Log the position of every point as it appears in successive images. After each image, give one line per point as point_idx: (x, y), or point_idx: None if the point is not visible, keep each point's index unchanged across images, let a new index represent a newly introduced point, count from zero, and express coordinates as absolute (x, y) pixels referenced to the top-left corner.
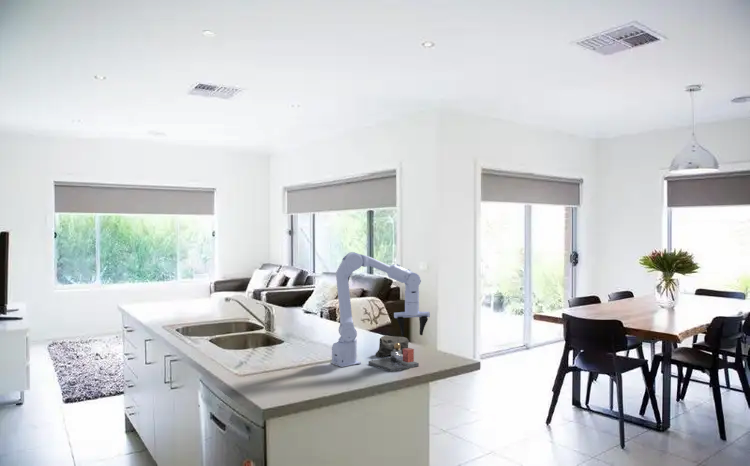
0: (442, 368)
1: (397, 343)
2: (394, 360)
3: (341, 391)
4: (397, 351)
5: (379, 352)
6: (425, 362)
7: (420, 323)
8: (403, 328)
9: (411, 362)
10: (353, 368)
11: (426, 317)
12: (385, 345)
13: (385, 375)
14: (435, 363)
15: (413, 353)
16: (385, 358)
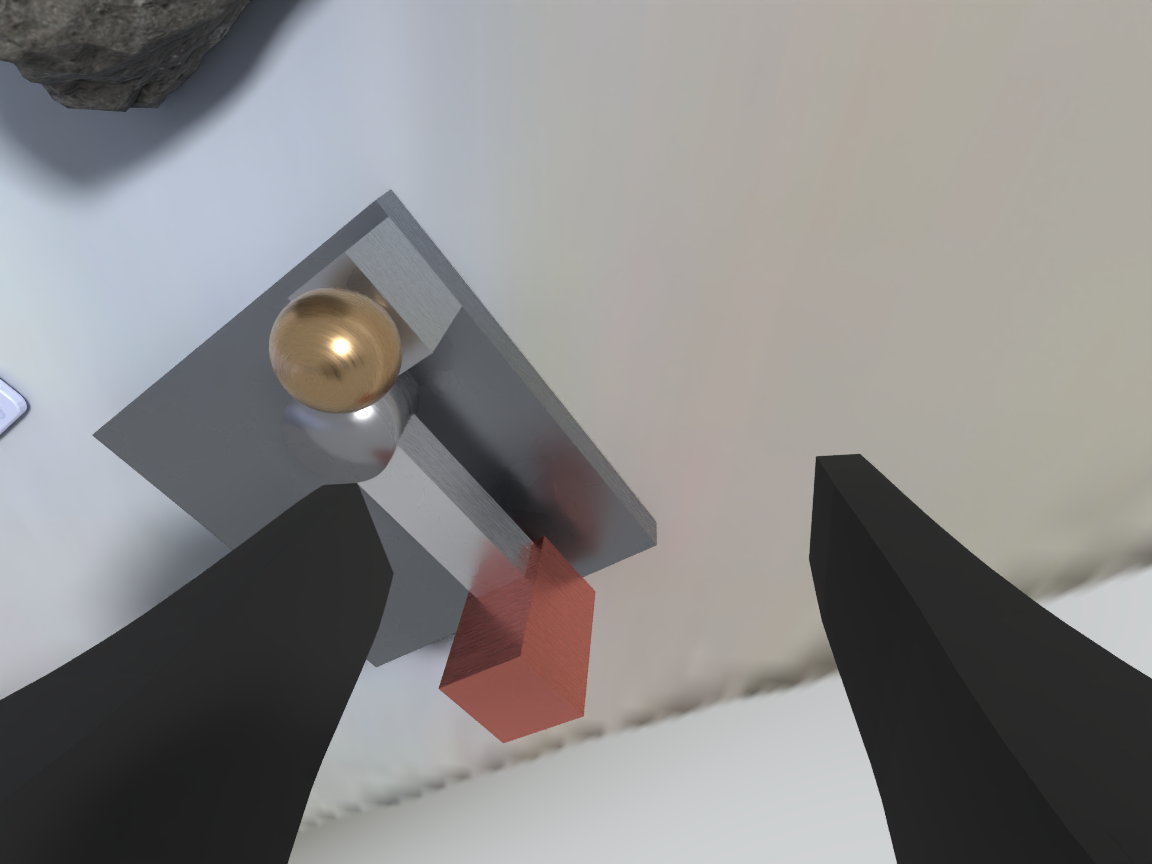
0: None
1: (318, 398)
2: None
3: None
4: (375, 419)
5: (70, 106)
6: (777, 388)
7: (944, 804)
8: (309, 765)
9: (579, 519)
10: (44, 535)
11: None
12: (61, 39)
13: (361, 701)
14: (890, 437)
15: (585, 668)
16: (252, 337)
